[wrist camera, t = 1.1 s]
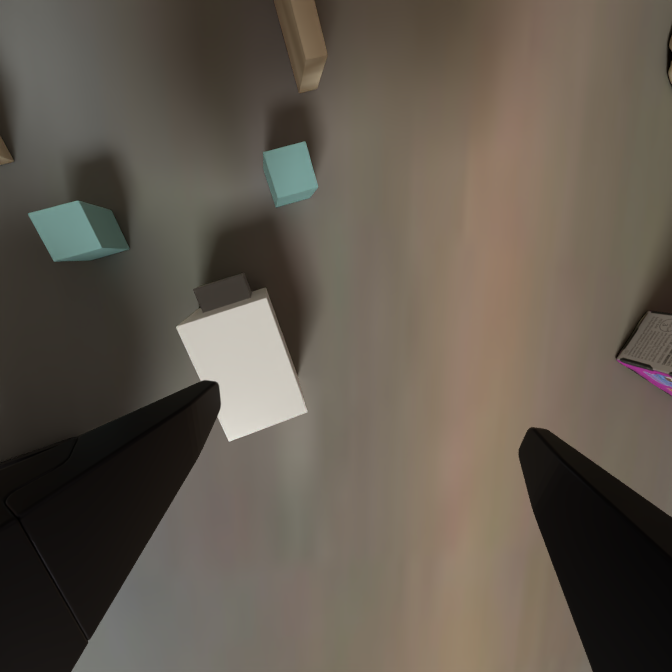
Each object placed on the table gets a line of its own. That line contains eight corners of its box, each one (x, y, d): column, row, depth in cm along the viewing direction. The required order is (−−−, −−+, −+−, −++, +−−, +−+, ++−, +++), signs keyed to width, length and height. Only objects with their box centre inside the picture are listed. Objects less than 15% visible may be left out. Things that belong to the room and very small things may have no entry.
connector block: (237, 397, 20) (229, 441, 15) (190, 288, 18) (163, 300, 13) (297, 375, 20) (307, 412, 16) (258, 267, 18) (256, 271, 14)
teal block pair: (90, 260, 16) (53, 261, 14) (70, 220, 16) (27, 213, 13) (309, 197, 18) (318, 187, 15) (298, 160, 17) (305, 141, 15)
